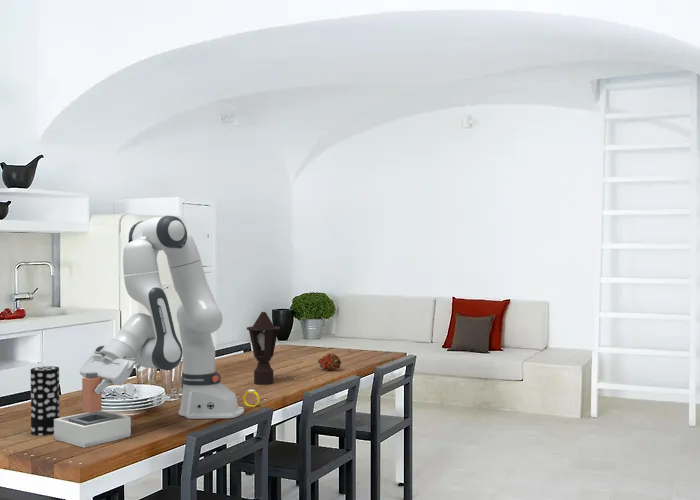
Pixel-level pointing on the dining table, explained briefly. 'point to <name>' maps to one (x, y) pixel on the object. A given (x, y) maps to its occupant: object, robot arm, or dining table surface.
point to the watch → (256, 396)
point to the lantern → (263, 348)
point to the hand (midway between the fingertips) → (90, 391)
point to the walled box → (92, 428)
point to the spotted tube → (44, 399)
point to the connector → (91, 393)
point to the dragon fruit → (330, 362)
